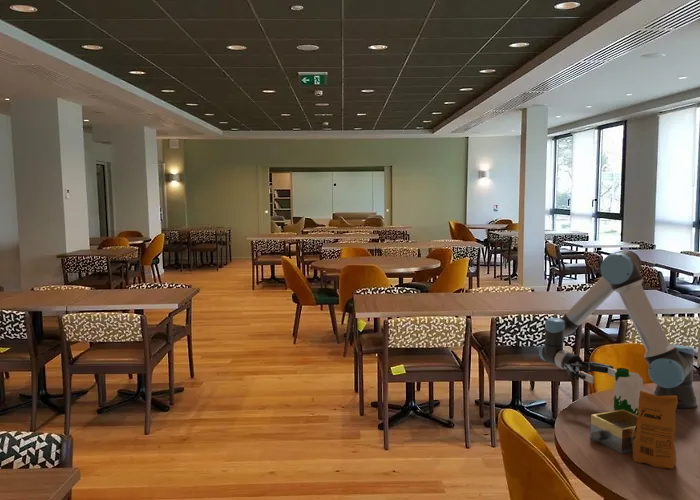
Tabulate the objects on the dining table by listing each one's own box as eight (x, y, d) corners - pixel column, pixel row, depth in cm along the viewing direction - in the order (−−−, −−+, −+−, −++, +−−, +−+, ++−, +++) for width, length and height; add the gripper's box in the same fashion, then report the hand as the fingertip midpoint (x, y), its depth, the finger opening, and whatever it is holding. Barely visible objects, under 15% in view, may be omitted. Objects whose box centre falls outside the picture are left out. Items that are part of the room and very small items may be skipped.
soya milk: (611, 417, 223) (613, 365, 221) (637, 419, 221) (639, 366, 219) (616, 427, 214) (618, 372, 212) (643, 428, 212) (646, 374, 210)
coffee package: (634, 450, 195) (637, 385, 193) (677, 459, 188) (680, 392, 186) (629, 462, 187) (632, 394, 185) (674, 472, 180) (677, 401, 178)
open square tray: (622, 431, 211) (623, 409, 210) (654, 447, 197) (655, 423, 197) (583, 438, 205) (584, 415, 204) (614, 455, 192) (614, 431, 191)
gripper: (592, 367, 250) (632, 383, 230) (543, 373, 242) (579, 391, 222) (593, 350, 249) (633, 365, 229) (544, 355, 241) (580, 371, 221)
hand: (607, 378), depth 225 cm, fingers open, 13 cm apart
